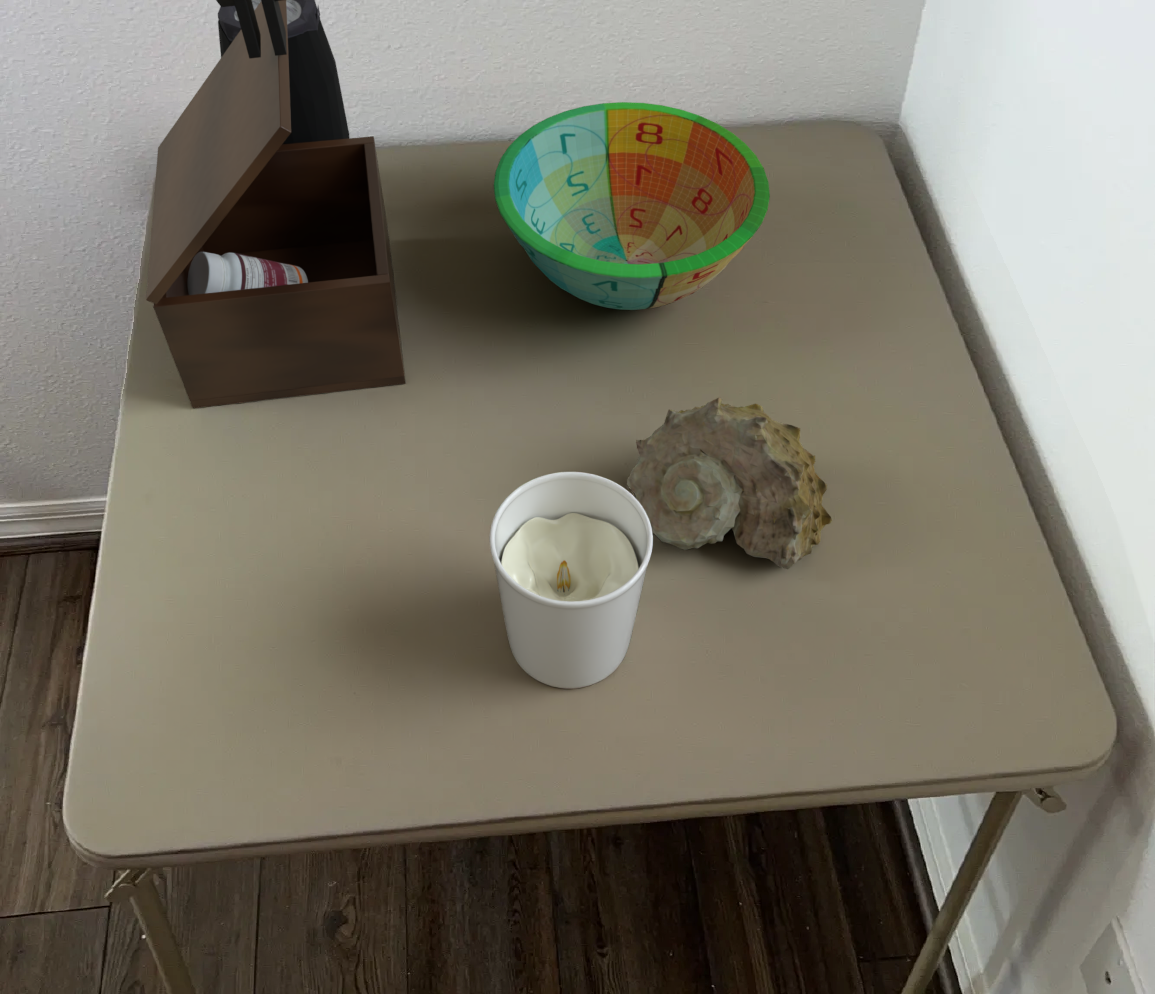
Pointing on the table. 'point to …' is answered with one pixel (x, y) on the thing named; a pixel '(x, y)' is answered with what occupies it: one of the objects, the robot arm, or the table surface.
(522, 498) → the candle holder
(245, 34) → the robot arm
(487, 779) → the table surface
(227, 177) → the lid
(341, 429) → the table surface
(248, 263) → the pill bottle
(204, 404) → the chest
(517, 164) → the bowl
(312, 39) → the portable speaker
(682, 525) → the seashell
